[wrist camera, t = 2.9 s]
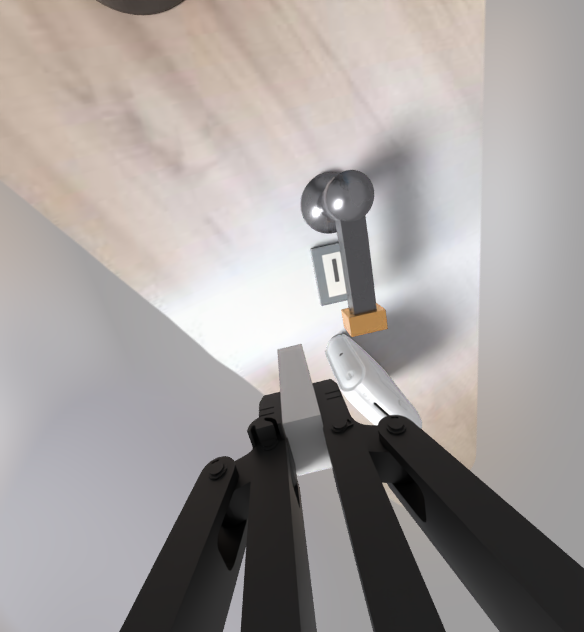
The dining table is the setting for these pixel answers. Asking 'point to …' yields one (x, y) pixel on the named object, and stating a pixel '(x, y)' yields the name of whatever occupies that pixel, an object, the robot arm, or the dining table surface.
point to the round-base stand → (317, 204)
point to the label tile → (329, 274)
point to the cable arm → (355, 249)
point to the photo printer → (367, 382)
